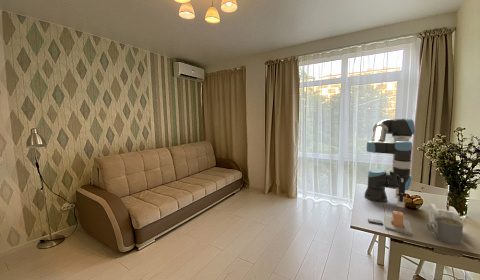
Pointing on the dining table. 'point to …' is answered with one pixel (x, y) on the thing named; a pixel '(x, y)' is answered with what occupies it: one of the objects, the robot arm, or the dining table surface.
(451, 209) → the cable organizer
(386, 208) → the dining table surface
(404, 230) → the outlet plate
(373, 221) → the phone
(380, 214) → the dining table surface
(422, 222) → the dining table surface
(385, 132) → the robot arm
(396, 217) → the block
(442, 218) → the coffee mug
